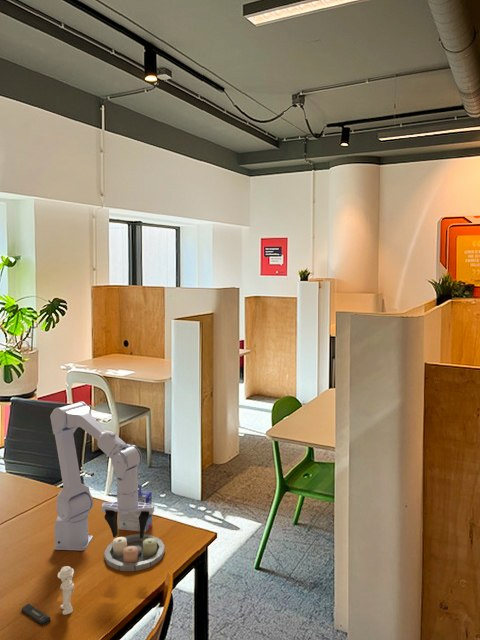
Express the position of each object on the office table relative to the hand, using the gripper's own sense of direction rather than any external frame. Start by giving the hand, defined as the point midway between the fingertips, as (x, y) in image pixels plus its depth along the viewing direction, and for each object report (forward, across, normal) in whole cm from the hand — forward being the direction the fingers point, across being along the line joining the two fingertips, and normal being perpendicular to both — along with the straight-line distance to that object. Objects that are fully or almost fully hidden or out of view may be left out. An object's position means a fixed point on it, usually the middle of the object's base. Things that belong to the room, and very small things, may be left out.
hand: (128, 536), depth 149 cm
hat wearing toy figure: (+10, -11, -18) cm, 23 cm away
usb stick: (+10, -18, -21) cm, 29 cm away
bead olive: (+9, +4, +6) cm, 12 cm away
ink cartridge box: (+10, -4, +22) cm, 25 cm away
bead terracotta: (+9, 0, +1) cm, 9 cm away
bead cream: (+9, -4, +6) cm, 12 cm away
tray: (+10, 0, +6) cm, 12 cm away
